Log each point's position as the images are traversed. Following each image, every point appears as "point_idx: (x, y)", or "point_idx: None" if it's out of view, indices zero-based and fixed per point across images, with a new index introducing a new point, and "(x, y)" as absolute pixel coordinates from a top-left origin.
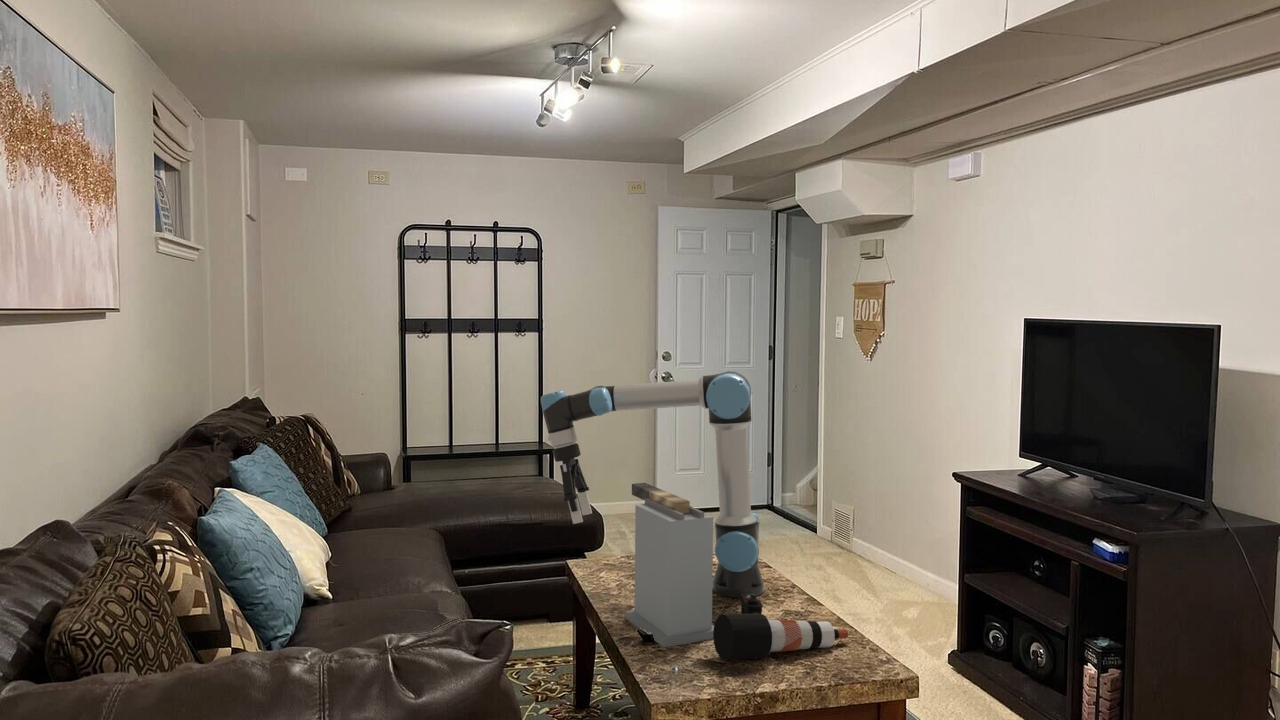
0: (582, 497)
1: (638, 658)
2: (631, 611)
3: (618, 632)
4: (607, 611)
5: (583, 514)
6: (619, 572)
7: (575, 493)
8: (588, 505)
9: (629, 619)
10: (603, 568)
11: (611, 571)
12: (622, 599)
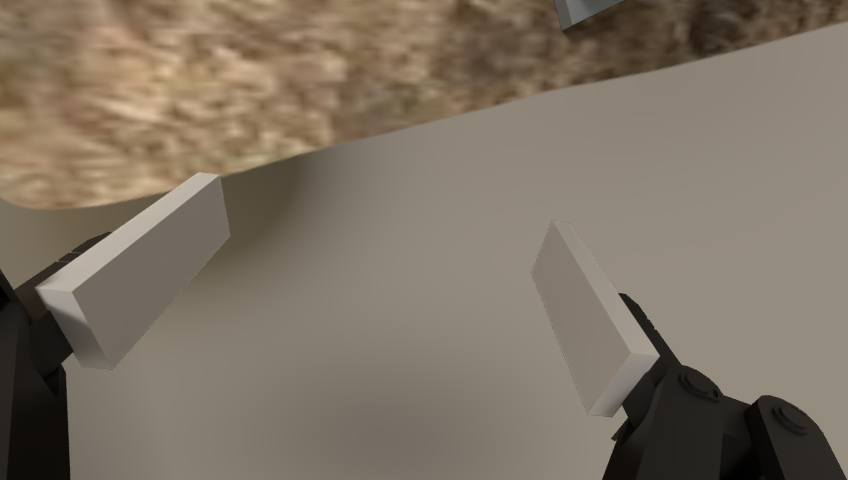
0: (134, 298)
1: (825, 3)
2: (578, 6)
3: (656, 54)
4: (501, 87)
5: (225, 233)
6: (102, 46)
7: (672, 414)
8: (183, 214)
9: (586, 18)
10: (68, 108)
11: (97, 77)
12: (398, 38)
